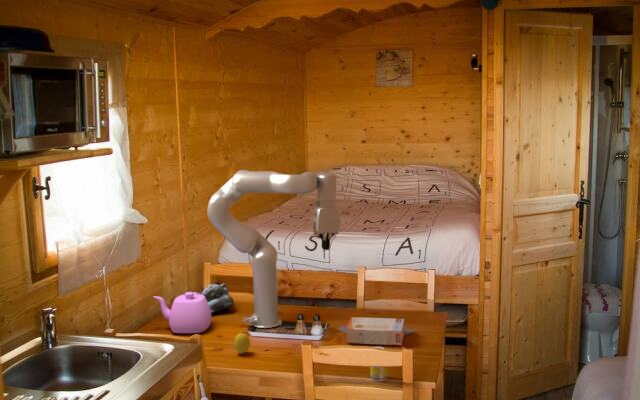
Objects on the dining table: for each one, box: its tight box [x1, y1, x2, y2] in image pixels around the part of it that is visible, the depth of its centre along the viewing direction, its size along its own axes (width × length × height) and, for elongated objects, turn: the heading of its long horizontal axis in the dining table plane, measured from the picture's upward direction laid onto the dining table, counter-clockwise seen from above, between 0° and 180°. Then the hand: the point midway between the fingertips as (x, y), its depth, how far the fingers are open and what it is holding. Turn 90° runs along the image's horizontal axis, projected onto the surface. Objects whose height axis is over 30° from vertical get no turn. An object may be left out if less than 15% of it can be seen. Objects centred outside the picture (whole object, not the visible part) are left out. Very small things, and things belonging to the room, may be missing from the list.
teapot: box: [152, 291, 213, 334], centre depth 280 cm, size 23×21×15 cm
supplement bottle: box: [369, 346, 388, 382], centre depth 225 cm, size 6×6×10 cm
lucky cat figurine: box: [197, 281, 235, 314], centre depth 302 cm, size 15×12×14 cm
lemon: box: [233, 332, 250, 355], centre depth 250 cm, size 6×6×8 cm
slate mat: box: [337, 325, 416, 336], centre depth 272 cm, size 23×20×1 cm
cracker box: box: [345, 316, 406, 346], centre depth 262 cm, size 14×6×21 cm
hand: (325, 249), depth 279 cm, fingers closed
